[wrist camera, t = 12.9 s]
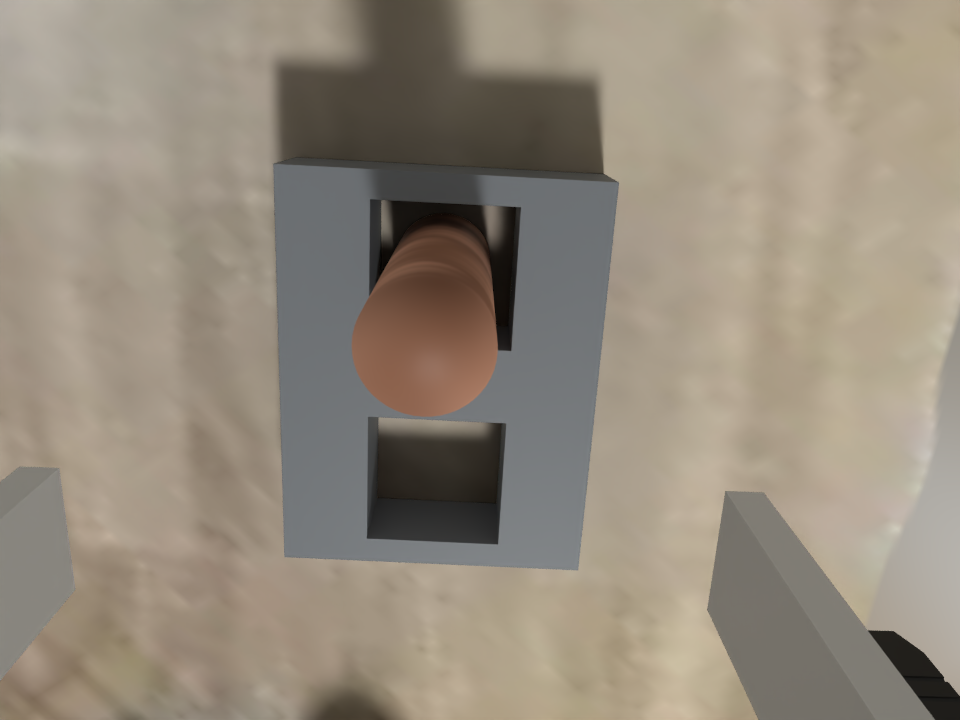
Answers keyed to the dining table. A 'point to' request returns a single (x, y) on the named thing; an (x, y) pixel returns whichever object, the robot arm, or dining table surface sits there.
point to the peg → (430, 320)
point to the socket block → (506, 399)
